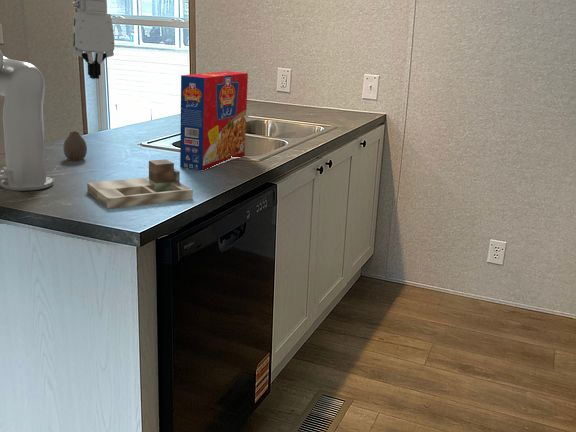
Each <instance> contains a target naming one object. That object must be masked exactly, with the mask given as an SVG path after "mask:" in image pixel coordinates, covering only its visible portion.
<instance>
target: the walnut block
mask: <svg viewBox="0 0 576 432" xmlns="http://www.w3.org/2000/svg"><path fill="white" fill-rule="evenodd" d="M174 169H175V162H172V161H170V160H169V159H155V160H153V159H151V160H148V177H149V179H150V180H152V181H153V182H155V183H165V182H174Z"/></svg>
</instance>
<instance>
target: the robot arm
mask: <svg viewBox="0 0 576 432" xmlns="http://www.w3.org/2000/svg"><path fill="white" fill-rule="evenodd" d="M107 1H108V0H75V1H72V2H71V7H72V8H76V12H75V13H74V16H73V27H72V46H73V51H72V55H74V56H76V57H81V58H82V59H83V60H84V61H85V62H86V63H87V75H88V76H89V78H90V79H92V80H95V79H96V80H99V79H100V76H101V75H102V74H101V73H102V71H101V64H102V63H103V62H104V61H105V60H106V58H110V57H113V56H114V51H115V35H114V34H115V33H114V26H113V20H112V16H111V14H110V13H109V14H108V2H107ZM93 53H94V58H93ZM45 91H46V82H45V77H44V76H43V73H42V71H41V70H40V69H39V68H38V67H37V66H36V65H34V64H32V63H30V62H26V61H21V60H16V59H10V58H8V57H6V56H4V54H3V52H2V50H1V49H0V96H1V97H2V96H3V97H4V101H3V102H4V103H3V109H2V126H3V137H4V139H3V140H4V150H5V152H4V153H5V165H6V166H3V169H2V170H0V186H1V187H2V188H3V189H6V190H11V191H20V192H21V191H22V192H23V191H24V192H26V191H38V190H43V189H44V190H45V189H47V188H51V187H52V186H53V184H54V181H53V178H52V177H49V176H47V163H46V162H47V160H46V145H45V144H46V142H45V140H46V139H45V125H44V100H45Z"/></svg>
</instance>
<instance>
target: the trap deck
mask: <svg viewBox="0 0 576 432" xmlns="http://www.w3.org/2000/svg"><path fill="white" fill-rule="evenodd" d="M180 177H181V176H180V171H179V170H177V169H176V168H174V182H165V183H155V182H153V181H152V180H150V179H149V176H148V177H137V178H136V177H135V178H127V179H126V178H125V179H113V180H105V181H104V180H103V181H90V182H86V184H87V185H86V186H87V193H88V194H89V195H91V196H92V197H93V198H94V199H96V201H98V202H99V203H100V204H102V205H103V206H104V207H106V208H107V210H109V209H115V208H116V209H118V208H126V207H127V208H128V207H136V206H143V205H152V204H154V205H155V204H163V203H171V202H178V201H179V200H181V201H189V199H190V200H193V199H194V198H193V197H194V195H193V192H194V190H193V189H192V188H190V187H188V186H187V185H185V184H183V183H181V182H180V180H181V179H180ZM179 202H180V201H179Z"/></svg>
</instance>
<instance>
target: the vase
mask: <svg viewBox="0 0 576 432" xmlns="http://www.w3.org/2000/svg"><path fill="white" fill-rule="evenodd" d="M87 145H88V144H87V142H86V141H85V139H84V138H83V137H82V135H81V134H80V132H79V131H77V130H72V131H70V133H69V134H68V136H67V137H66V138H65V140H64V143H63V145H62V146H63V147H62V148H63V154H64V156H65V157H66V159H67V160H69V161H72V162H80V161H82V160H84V159H85V158H86V155H87V154H88V153H87V151H88V150H87V149H88V146H87Z"/></svg>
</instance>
